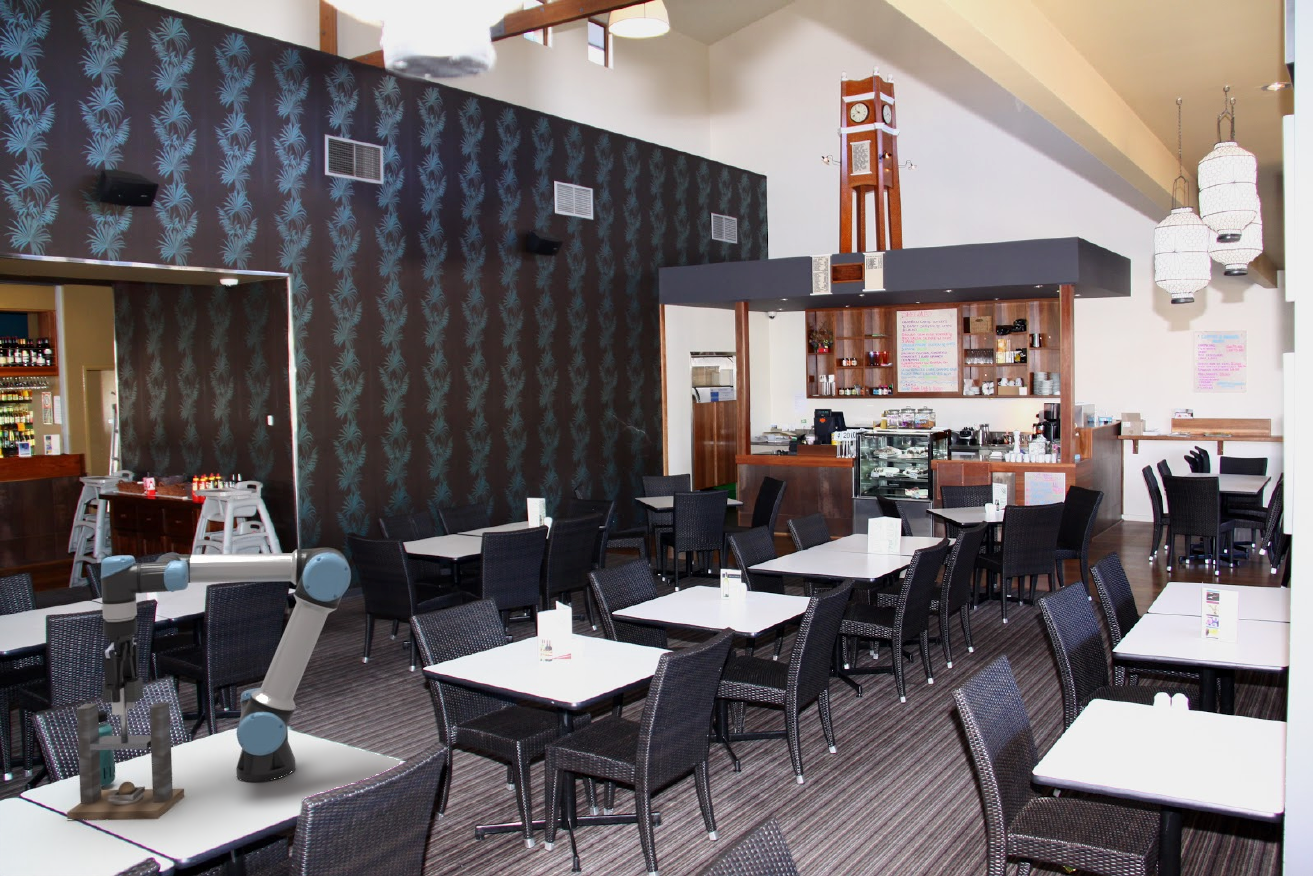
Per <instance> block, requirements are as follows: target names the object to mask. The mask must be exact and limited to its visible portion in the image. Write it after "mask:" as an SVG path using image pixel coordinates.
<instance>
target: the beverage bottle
mask: <svg viewBox="0 0 1313 876" xmlns="http://www.w3.org/2000/svg"><path fill="white" fill-rule="evenodd" d="M108 720H109V717H108V712H107V711H98V723H99V738H101V737H102V736H114V734H113V733H114V732H113V731H114V727H113V726H112V725H111V724H109V723H106V721H108ZM100 772H101V787H102V786H107V785H110V784H112V783H114V782H115V779H116V763H115V750H100Z"/></svg>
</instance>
